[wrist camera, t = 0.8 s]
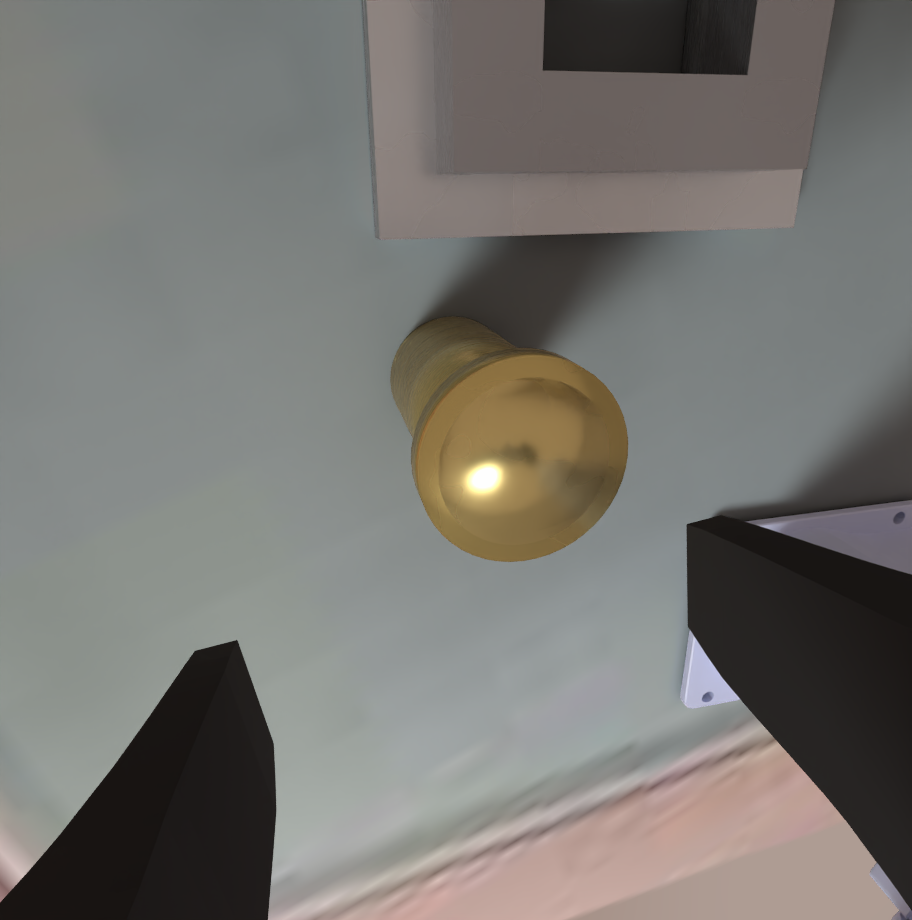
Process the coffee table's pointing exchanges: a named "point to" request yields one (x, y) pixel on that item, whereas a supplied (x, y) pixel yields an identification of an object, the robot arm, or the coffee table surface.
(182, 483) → the coffee table surface
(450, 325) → the pin
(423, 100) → the white stepped square fixture
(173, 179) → the coffee table surface
